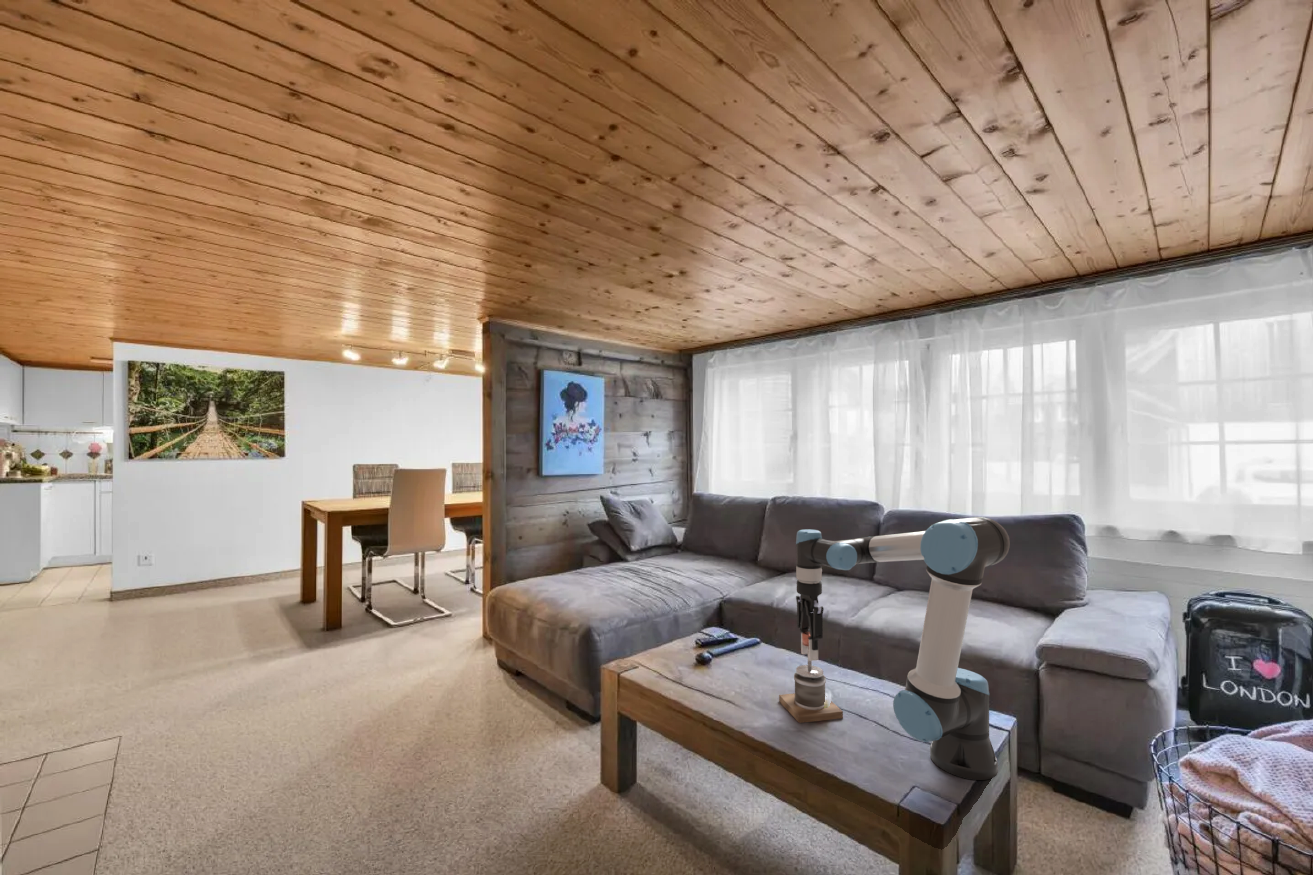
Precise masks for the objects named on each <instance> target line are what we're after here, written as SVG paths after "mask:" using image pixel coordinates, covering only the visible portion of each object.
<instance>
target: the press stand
mask: <svg viewBox="0 0 1313 875" xmlns="http://www.w3.org/2000/svg"><path fill="white" fill-rule="evenodd" d="M793 678H794V693H783V694H779V695H778V702H779V703H780V704H781V705H782V706H783V707H784V708H785V709H786V711H788V713H789V714H790V715H791V716H792V717H793V718H794V719H795V720H796V722H798V723H799V724H801V723H811V722H819V721H829V720H837V719H844V711H843V710H842V709H841V708H839V706H837V704H835V703H834V702H833V701H832V700H831V703H830V706H829V707H828V708H824V706H825V705H824V702H825V696H826V683H827V681H826V680H827V679H826V676H825V675H824V674H823V676H822V677H820V678H806V677H802V676H800V675H798V674H797V672H796V671H795V673H794V674H793Z"/></svg>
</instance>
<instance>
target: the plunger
mask: <svg viewBox="0 0 1313 875" xmlns="http://www.w3.org/2000/svg"><path fill="white" fill-rule="evenodd" d="M808 637H810V631H807V632H803V633H802V644H803V645H805V646H808V654H807V664H803V665H798V666H797V667H796V668H795V670H796V671H795V673H796V672H797V674H798V675H800V676H802V677H806V678H820V677H822V676H823V675H824V670H823V669H822V668H821V667H819V666H816V665H813V661H810V660H809V639H808Z"/></svg>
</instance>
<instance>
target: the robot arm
mask: <svg viewBox="0 0 1313 875" xmlns="http://www.w3.org/2000/svg"><path fill="white" fill-rule="evenodd" d="M1010 546H1011V545H1010V536H1009V535H1008V532H1007V530H1006V529H1005V527H1003V526H1002V525H1001V524H1000V523H999V522H997V521H996V520H994V519H991V518H988V517H984V516H983V517H982V516H974V517H966V518H958V519H956V518H950V519H944V520H942V521H939V522H936V523H933V524H931V525H930V526H929V527H928V528H927V529H926V530H922V531H914V532H903V533H895V534H894V533H893V534H885V535H875V536H863V537H859V538H857V537H856V538H852V539H851V538H850V539H841V540H827V539H824V538H823V536H822V532H821V531H820V530H818V529H808V528H807V529H800V530H797V532H796V541H795V548H796V549H795V550H796V552H795V553H796V567H795V568H796V569H795V570H796V572H795V573H796V574H795V575H796V576H795V578H796V579H797V581H796V593H797V594H799V595H796V596H795V600H796V624H797V625H796V627H797V629H799V632H800V649H801V653H800V654H801V655H808V646H805V645H803V644H802V633H803V632H810V637H808V639H809V660H810V661H812V662H813V661H819V640H822V639H823V632H824V631H823V628H824V627H823V624H824V623H823V613H824V607H823V606H820V605H819V596H821V595H822V593H823V583H822V577H823V575H822V572H823V569H822V568H823V567H822V566H826V567H829V568H832V569H834V570H839V571H841V570H842V571H850V570H851V569H852V568H854V567H855V566H856V565H860V564H862V565H863V564H871V563H873V564H874V563H885V562H886V563H887V562H901V561H903V562H905V561H922V560H923V561H924V563H925V564H926V568H925V570H926V572H927V574H928V575H929V577H930V578H931V580H930V581H931V582H930V587H929V591H928V598H927V604H926V610H925V615H924V621H923V627H922V628H923V629H922V631H921V632H922V633H921V638H920V644H919V649H918V655H917V661H916V667H915V668H913V669H911V670H910V671H909V672H908V673H907V677H906V683H905V688H904V689H902V690H900V691H898V692H897V693H896V694H895V696H894V698H893V701H892V702H893V703H892V705H893V706H892V707H893V712H894V715H895V718H896V720H898V723H899V725H900V727H901V728H902V729H903V730H904V732H905V733H907V735H908V736H910V737H912V738H913V739H915V740H916V741H919V742H923V743H930V742H931V744H930V746H929V754H930V755H929V756H930V759H931V761H932V762H933V763H934V764H935V765H936V766H937V767H938V768H940V769H941V770H943V771H945V772H946V773H949V774H951V775H953V776H956V777H960V778H963V779H967V780H973V781H975V780H976V781H986V780H992V779H994V778H995V777H997V775H998V773H999V763H998V762H999V761H998V759H997V756H996V754H995V753H996V752H995V749H994V748H993V744H992V741H991V739H990V695H991V694H990V691H989V690H990V688H989V682H988V680H987V679H986V678H985V677H984V676H983V675H981V674H979V673H977V672H974V671H971V670H969V669H965V668H961V667H959V662H960V658H961V652H962V647H963V641H964V636H965V630H966V627H967V626H966V625H967V620H968V617H969V610H970V605H971V600H972V596H973V595H972V594H973V590H974V589H976V588H978V587H979V586H981V585H982V583H983V578H984V572H985V568H986V567H990V566H994V565H996V564H998V563H1000V562H1002V561H1003V560H1004V559H1005V558H1006V556H1007V555H1008V553H1009V549H1010Z"/></svg>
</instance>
